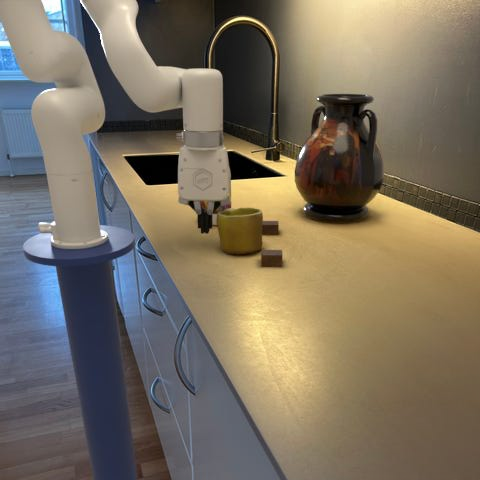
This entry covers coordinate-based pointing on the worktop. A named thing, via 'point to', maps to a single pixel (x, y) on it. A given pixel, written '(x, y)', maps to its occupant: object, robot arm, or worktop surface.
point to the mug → (240, 230)
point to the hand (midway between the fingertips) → (205, 231)
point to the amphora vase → (340, 160)
